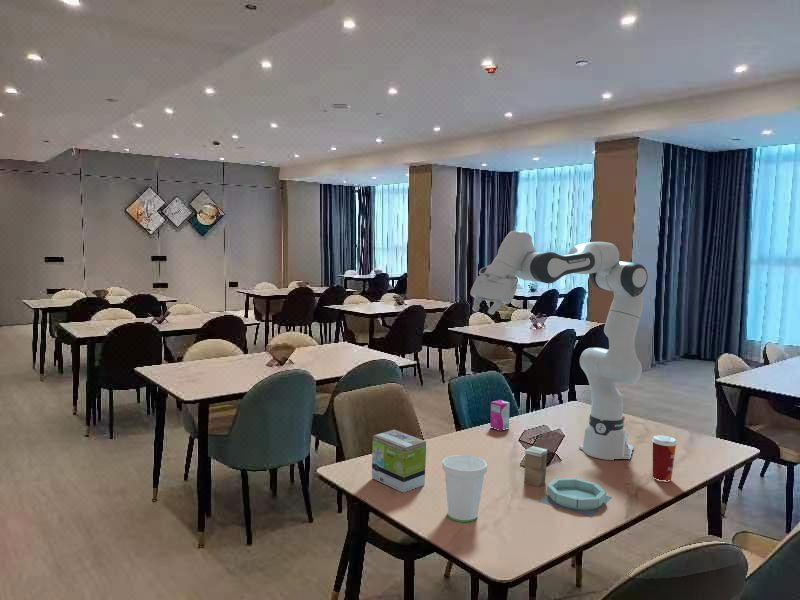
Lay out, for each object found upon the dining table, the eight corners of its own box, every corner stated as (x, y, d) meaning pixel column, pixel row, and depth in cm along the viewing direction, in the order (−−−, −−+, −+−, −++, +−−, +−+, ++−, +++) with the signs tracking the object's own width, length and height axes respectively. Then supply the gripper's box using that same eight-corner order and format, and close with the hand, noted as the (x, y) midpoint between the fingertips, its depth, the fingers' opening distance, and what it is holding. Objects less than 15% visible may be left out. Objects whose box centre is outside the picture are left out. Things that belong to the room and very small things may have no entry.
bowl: (560, 484, 190) (561, 474, 190) (610, 498, 181) (611, 487, 180) (540, 500, 177) (540, 489, 177) (592, 516, 168) (593, 504, 168)
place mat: (561, 484, 191) (561, 483, 191) (611, 498, 182) (612, 497, 181) (538, 502, 177) (538, 501, 177) (591, 518, 167) (591, 517, 167)
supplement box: (498, 425, 253) (499, 399, 252) (509, 429, 249) (510, 402, 248) (489, 428, 249) (490, 401, 248) (500, 431, 245) (501, 404, 244)
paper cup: (677, 484, 194) (680, 443, 192) (651, 482, 195) (654, 440, 194) (671, 476, 201) (674, 435, 200) (647, 473, 203) (649, 433, 202)
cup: (493, 515, 167) (495, 462, 166) (467, 530, 158) (470, 474, 157) (457, 502, 176) (459, 451, 174) (431, 515, 166) (433, 462, 165)
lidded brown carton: (530, 479, 195) (532, 446, 194) (545, 483, 192) (547, 449, 191) (523, 484, 191) (525, 450, 190) (538, 488, 188) (540, 453, 187)
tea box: (370, 479, 191) (371, 434, 190) (392, 471, 198) (394, 428, 197) (403, 494, 180) (404, 446, 179) (425, 485, 187) (427, 439, 186)
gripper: (526, 281, 187) (507, 320, 185) (491, 277, 206) (473, 313, 204) (512, 271, 185) (493, 310, 183) (477, 268, 203) (459, 304, 201)
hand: (482, 312), depth 194 cm, fingers open, 8 cm apart
